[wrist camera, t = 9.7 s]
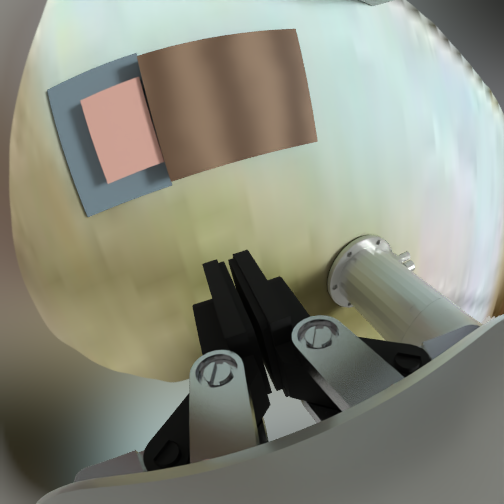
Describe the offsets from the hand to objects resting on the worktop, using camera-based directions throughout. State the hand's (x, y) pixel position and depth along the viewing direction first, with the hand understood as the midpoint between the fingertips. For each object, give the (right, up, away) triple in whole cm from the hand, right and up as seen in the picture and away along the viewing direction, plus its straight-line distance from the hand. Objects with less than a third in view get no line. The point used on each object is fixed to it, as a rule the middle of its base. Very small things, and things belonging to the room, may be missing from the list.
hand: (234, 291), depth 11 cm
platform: (-2, +17, +17) cm, 24 cm away
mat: (-14, +13, +15) cm, 24 cm away
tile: (-12, +13, +14) cm, 23 cm away
